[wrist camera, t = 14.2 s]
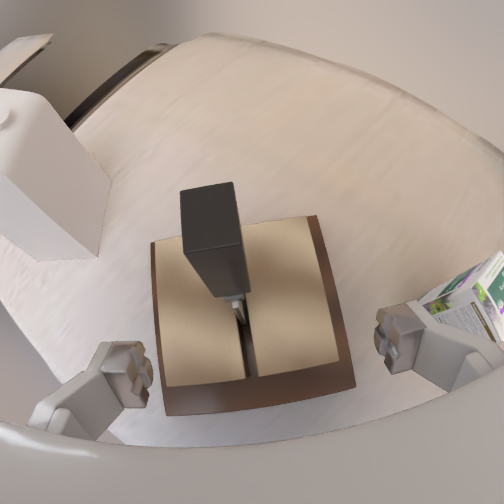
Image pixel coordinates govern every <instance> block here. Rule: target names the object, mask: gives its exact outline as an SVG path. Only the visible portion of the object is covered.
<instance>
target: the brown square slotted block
mask: <svg viewBox="0 0 504 504" xmlns="http://www.w3.org/2000/svg"><path fill="white" fill-rule="evenodd" d="M241 231H242V236H243V242H244V248H245V254H246V260H247V266H248V272H249V278H250V284H251V290H252V291H251V292H249V293H244V300H243V305H244V311H245V317H246V324H243V325H242V324H241V322H240V320H239V319H238V317H237V315H236V313H235V312H234V310H233V308H232V302H228V303H225V301H224V300H223V297H218V298H214V296H213V295H212V294H211V292H210V291H209V289H208V288H207V287H206V285H205V284H204V282H203V281H202V280H201V278H200V277H199V275H198V274H197V272H196V271H195V270H194V268H193V267H192V265H191V264H190V262H189V261H188V260H187V258H186V257H185V255H184V254H183V244H182V236H181V237H175V238H170V239H164V240H159V241H155V242H153V243H151V276H152V295H153V310H154V323H155V334H156V344H157V354H158V362H159V371H160V378H161V386H162V393H163V399H164V406H165V412H166V416H183V415H199V414H212V413H222V412H231V411H240V410H247V409H255V408H261V407H268V406H274V405H280V404H285V403H291V402H296V401H301V400H306V399H310V398H315V397H319V396H324V395H328V394H332V393H336V392H340V391H344V390H347V389H351V388H355V387H356V383H355V377H354V372H353V366H352V361H351V356H350V351H349V346H348V341H347V336H346V331H345V326H344V322H343V317H342V313H341V308H340V304H339V299H338V295H337V291H336V287H335V283H334V279H333V275H332V271H331V267H330V263H329V259H328V255H327V251H326V247H325V244H324V240H323V236H322V233H321V229H320V226H319V222H318V219H317V216H316V215H315V216H308V217H306V216H302V217H295V218H289V219H282V220H276V221H269V222H263V223H257V224H251V225H244V226H241Z"/></svg>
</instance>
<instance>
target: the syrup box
mask: <svg viewBox="0 0 504 504" xmlns="http://www.w3.org/2000/svg"><path fill="white" fill-rule="evenodd" d="M417 301H419V303H420V304H421V305H422V306H423V307H424V308H425V309H426V310H427V311H428V312H429V313H430V314H431V315H432V316H433V317H434V319H435V320H436V321H437V322H438V323H439V324H440V323H445V324H447V325H450V326H453V327H456V328H458V329H461V330H464V331H467V332H469V333H472V334H475V335H478V336H481V337H483V338H486V339H489V340H492V341H494V342H495V343H496V344H500V343H503V341H504V254H503V253H502V251H498V252H497V253H495V254H494V255H492V256H490V257H489V258H487V259H486V260H484V261H482V262H481V263H479V264H477V265H475V266H474V267H472V268H470V269H468V270H467V271H465V272H463V273H461V274H460V275H458V276H456V277H454V278H452V279H451V280H449V281H447V282H445V283H443V284H441V285H440V286H438V287H436V288H434V289H432V290H431V291H429V292H427V293H426V294H424V295H423V296H422V297H421V298H420V299H419V300H417Z"/></svg>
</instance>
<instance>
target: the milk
mask: <svg viewBox="0 0 504 504" xmlns="http://www.w3.org/2000/svg"><path fill="white" fill-rule="evenodd" d="M111 184H112V180H111V179H110V178H109V177H108V176H107V175H106V173H105V172H104V171H103V170H102V169H101V167H100V166H99V165H98V164H97V163H96V161H95V160H94V159H93V158H92V157H91V155H90V154H89V153H88V152H87V150H86V149H85V148H84V147H83V145H82V144H81V143H80V142H79V140H78V139H77V138H76V137H75V135H74V134H73V133H72V132H71V130H70V129H69V128H68V127H67V125H66V124H65V123H64V121H63V120H62V119H61V118H60V116H59V115H58V114H57V112H56V111H55V110H54V108H53V107H52V106H51V105H50V103H49V102H48V101H47V100H46V99H45V98H44V97H42V96H41V95H39V94H36V93H32V92H27V91H20V90H12V89H3V88H0V234H2V235H3V236H4V237H5V238H7V239H8V240H9V241H10V242H12V243H13V244H14V245H16V246H17V247H18V248H20V249H21V250H22V251H24V252H25V253H26V254H28V255H29V256H31V257H32V258H33V259H35V260H36V261H37V262H41V261H57V260H73V259H88V258H98V251H99V245H100V239H101V233H102V227H103V222H104V216H105V211H106V207H107V202H108V197H109V193H110V188H111Z"/></svg>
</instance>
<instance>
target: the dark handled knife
mask: <svg viewBox="0 0 504 504" xmlns="http://www.w3.org/2000/svg"><path fill="white" fill-rule="evenodd" d="M180 210H181V229H182V244H183V254H184V255H185V257H186V258H187V260H188V261H189V262H190V264H191V265H192V267H193V268H194V270H195V271H196V272H197V274H198V275H199V277H200V278H201V280H202V281H203V282H204V284H205V285H206V287H207V288H208V289H209V291H210V292H211V294H212V295H213V296H214V298H218V297H223V300H224V301H225V303H228V302H232V308H233V310H234V312H235V313H236V315H237V317H238V319H239V320H240V322H241V324H242V325H243V324H246V317H245V311H244V305H243V300H244V293H249V292H251V291H252V290H251V284H250V278H249V272H248V266H247V260H246V254H245V248H244V242H243V236H242V231H241V225H240V219H239V214H238V208H237V202H236V196H235V191H234V185H233V182H227V183H221V184H215V185H209V186H204V187H198V188H193V189H188V190H183V191H180Z"/></svg>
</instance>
